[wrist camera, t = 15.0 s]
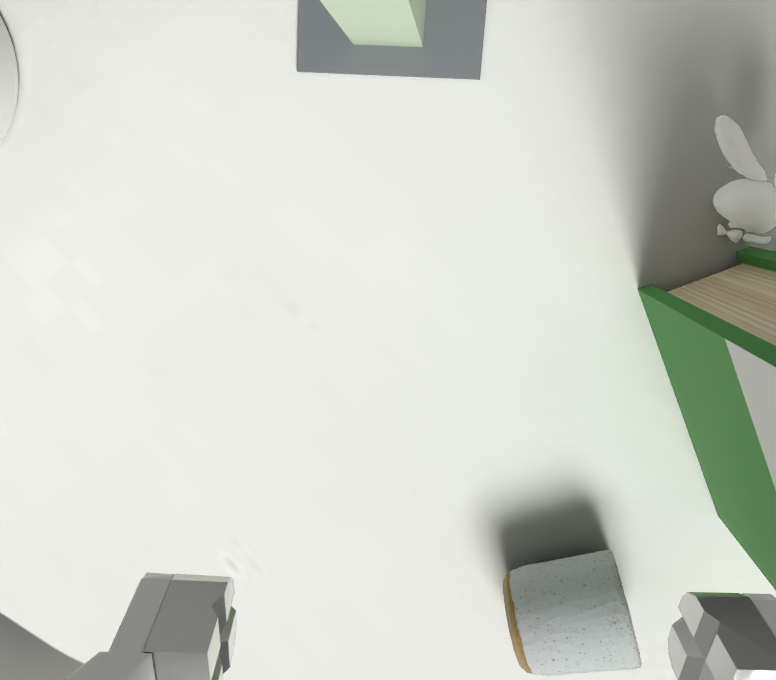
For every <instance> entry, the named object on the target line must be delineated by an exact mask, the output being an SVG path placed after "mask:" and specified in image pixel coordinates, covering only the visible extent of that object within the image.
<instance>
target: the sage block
mask: <svg viewBox="0 0 776 680" xmlns="http://www.w3.org/2000/svg"><path fill="white" fill-rule="evenodd" d="M320 1H321V3H322V4H323V5H324V7H325V8H326V9H327V11H328V12H329V13H330V14H331V16H332V17H333V18H334V20H335V21H336V22H337V24H338V25H339V26H340V27H341V29H342V30H343V31H344V33H345V34H346V35H347V37H348V38H349V39H350V40H351V42H352V43H353V44H355V45H382V46H409V47H423V38H424V23H425V8H426V0H320Z"/></svg>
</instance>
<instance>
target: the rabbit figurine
mask: <svg viewBox="0 0 776 680" xmlns="http://www.w3.org/2000/svg"><path fill="white" fill-rule="evenodd" d="M714 131H715V133H716V136H717V140H718V144H719V147H720V149H721V151H722V153H723V155H724V156H725V158H726V159H727V160H728V162H729V163H730V164H731V165H732V167H728V168H732V169H735V170H736V171H737V172H738V173H740V174H741V175H744V176H745V177H747V178H748V179H739V180H735V181H732V182H729V183H728V184H726V185H724V186H723V187H721V188H720V189H718V190H717V192H716V193H715V195H714V197H713V204H714V206H715V209H716V210H717V212H719V213H720V214H721V215H722V216H723V217H725V218H726V219H727V220H729V221H730V222H729V223H728V225H729V227H730V228H731V229H733V228H741V229H745V231H746V232H747V233H750V232H752V233H766V232H768V231H770V230H772V229H773V228H774V227H775V226H776V186H773V185H772V184H771V183H769V182H766V180H769V179H768V177H767V175H766V174H765V171H764V170H763V168H762V167H761V165H760V164H759V163H758V161H757V160H756V158H755V156H754V155H753V153H752V151H751V149H750V147H749V145H748V142H747V140H746V138H745V136H744V134H743V132H742V130H741V128H740V127H739V125H738V124H737V123H735V122H734V121H733V120H732V119H731V118H729V117H728V116H727V115H721V116H719V117H717V119H716V120H715V127H714ZM773 180H774V184H775V185H776V174H775V176H774V179H773ZM726 234H727V236H728V237H729V238H730V239H731V241H733V242H738V241H739V240H740V239H741V237H742V236H743V234H742V231H741V230H738V229H734V230H730V231H726V230H725V228H724V227H723V226H722V225H720V224H719V225H718V227H717V235H718V236H721V235H726ZM743 239H744V241H746V242H750V243H757V244H766V243H768V242H769V241H770V240H771V236H768V237H763V236H757V235H752V234H745V235H744V236H743Z"/></svg>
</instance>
